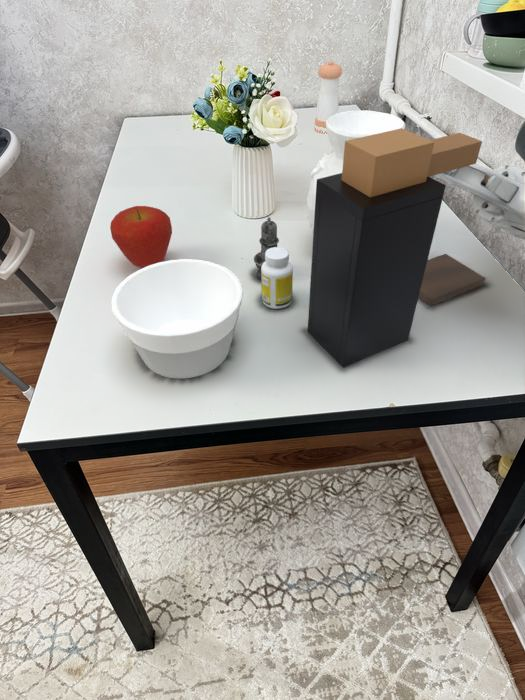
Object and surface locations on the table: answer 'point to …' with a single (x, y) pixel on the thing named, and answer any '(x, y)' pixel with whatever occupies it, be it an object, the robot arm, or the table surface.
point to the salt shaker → (327, 93)
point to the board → (447, 279)
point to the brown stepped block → (403, 159)
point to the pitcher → (338, 132)
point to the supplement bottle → (277, 278)
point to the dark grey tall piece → (266, 243)
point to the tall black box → (368, 265)
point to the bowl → (179, 315)
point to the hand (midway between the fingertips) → (460, 168)
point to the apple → (142, 234)
